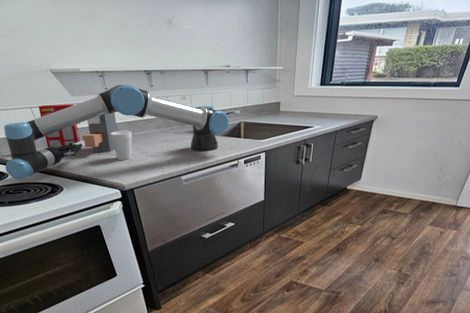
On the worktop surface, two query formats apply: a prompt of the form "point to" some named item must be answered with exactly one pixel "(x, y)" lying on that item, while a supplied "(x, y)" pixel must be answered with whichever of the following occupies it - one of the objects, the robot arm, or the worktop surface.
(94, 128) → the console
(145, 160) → the worktop surface
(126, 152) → the foam cup
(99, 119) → the grey plug
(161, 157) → the worktop surface
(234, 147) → the worktop surface
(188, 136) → the worktop surface
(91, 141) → the terracotta plug
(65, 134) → the food packaging
